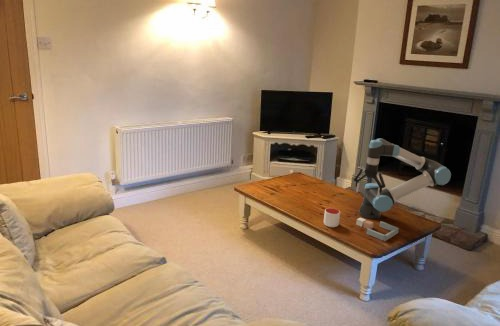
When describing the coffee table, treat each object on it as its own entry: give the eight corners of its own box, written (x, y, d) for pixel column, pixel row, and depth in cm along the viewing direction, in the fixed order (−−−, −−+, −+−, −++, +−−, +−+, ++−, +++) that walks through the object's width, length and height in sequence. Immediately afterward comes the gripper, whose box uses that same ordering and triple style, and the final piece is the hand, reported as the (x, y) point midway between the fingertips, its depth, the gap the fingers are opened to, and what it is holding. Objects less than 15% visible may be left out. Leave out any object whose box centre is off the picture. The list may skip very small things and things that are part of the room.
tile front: (363, 227, 274) (364, 222, 273) (366, 225, 277) (367, 220, 276) (369, 230, 271) (370, 224, 270) (372, 228, 274) (373, 222, 273)
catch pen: (366, 233, 265) (367, 228, 264) (380, 225, 277) (381, 221, 276) (384, 241, 256) (385, 236, 255) (398, 232, 269) (399, 228, 268)
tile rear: (356, 224, 278) (356, 219, 276) (359, 222, 281) (360, 217, 280) (361, 227, 275) (362, 221, 273) (365, 225, 278) (366, 219, 276)
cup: (336, 221, 281) (338, 208, 278) (340, 228, 271) (341, 214, 268) (322, 221, 280) (323, 207, 277) (325, 227, 271) (326, 213, 268)
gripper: (351, 160, 271) (347, 190, 277) (390, 169, 258) (384, 200, 263) (355, 158, 278) (351, 188, 283) (393, 167, 264) (388, 197, 269)
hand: (367, 194), depth 273 cm, fingers open, 13 cm apart
